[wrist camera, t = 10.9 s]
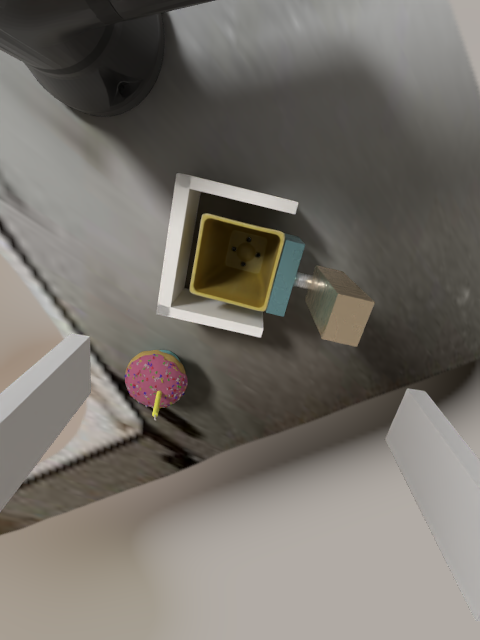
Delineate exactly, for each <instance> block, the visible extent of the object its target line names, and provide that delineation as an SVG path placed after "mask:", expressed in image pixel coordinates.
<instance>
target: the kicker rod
mask: <svg viewBox="0 0 480 640" xmlns="http://www.w3.org/2000/svg"><path fill="white" fill-rule="evenodd" d="M284 234H285V233H284ZM304 247H305V244H304V243H303V242H302V240H301V239H300V238H299V237H297V236H293V235H289V234H285V241H284V245H283V249H282V252H281V256H280V259H279V263H278V267H277V270H276V274H275V278H274V282H273V286H272V290H271V294H270V298H269V302H268V306H267V309H266V313H270V314H274V315H278V316H283V317H284V314H285V311H286V307H287V304H288V301H289V297H290V294H291V290H292V287H293V286H294V287H298V288H302V289H307V290H308V291H307V294H306V298H305V301H306V303H307V306H308V308H309V310H310V313H311V315H312V317H313V319H314V322H315V324H316V326H317V328H318V331H319V333H320V335H321V337H322V339H325V340H329V341H333V342H338V343H342V344H346V345H351V346H355V347H357V346H358V343H359V341H360V338H361V336H362V333H363V331H364V328H365V326H366V323H367V321H368V318H369V316H370V313H371V311H372V308H373V306H374V303H375V302H374V301H373V300H372V299H371V298H370V297H369V296H368V295H367V294H366V293H365V292H363V291H362V290H361V289H360V288H359V287H358V286H357V285H356V284H355V283H354V282H353V281H352V280H351V279H350V278H349V277H348V276H347V275H346V274H345V273H344V272H342V271H338V270H334V269H330V268H326V267H321V266H317V265H316V266H315V269H314V272H313V275H307V274H303V273H299V272H297V270H298V267H299V264H300V260H301V257H302V254H303V250H304Z"/></svg>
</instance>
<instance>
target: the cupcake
mask: <svg viewBox="0 0 480 640" xmlns="http://www.w3.org/2000/svg"><path fill="white" fill-rule="evenodd" d="M125 383H126V387H127V389H128V392H129V394H130V395H131V397H133V398H135V399H134V400H136V401H137V402H138V403H142V404H144V405H146V407H147V406H149V407H152V408H153V407H154V409H153V414H152V416H153V417H154V420H155V421H156V417H157V416H158V411H159V408H161V407H163V408H165V407H167V406H170V405H173V404H174V403H175V402H177V401H179V399H180V398H181V397H182V395H184V392H185V390H186V387H187V384H188V380H187V376H186V373H185V370H184V367H183V365H182V364H181V363H180V360H179V358H178V357H177V356H176V355H175V354H174V353H172V352H171V351H168V350H152V351H144V352H141V353H139V354H138V355H137V356H135V357H134V358H133V359H132V360H131V361H130V363H129V364H128V366H127V369H126V375H125Z"/></svg>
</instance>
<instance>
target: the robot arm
mask: <svg viewBox="0 0 480 640" xmlns="http://www.w3.org/2000/svg"><path fill="white" fill-rule="evenodd" d="M211 1H215V0H0V50H2V51H4V52H6V53H7V54H9V55H11V56H13V57H15V58H17V59H19V60H20V61H22V62H24V63H25V65H26V66H27V67H28V68H29V70H30V71H31V73H32V74H33V76H34V77H35V78H36V79H37V81H38V82H39V83H40V84H41V85H42V86H43V87H44V88H45V89H46V90H47V91H48V92H49V93H50V94H51V95H53V96H54V97H55V98H56V99H58V100H59V101H61V102H62V103H64V104H66V105H68V106H70V107H72V108H74V109H76V110H79V111H81V112H84V113H87V114H90V115H95V116H113V115H118V114H121V113H124V112H126V111H128V110H130V109H132V108H133V107H135V106H136V105H137V104H139V103H140V102H141V101H142V100H143V99H144V98H145V97H146V96H147V94H148V93H149V92H150V90H151V89H152V87H153V85H154V83H155V81H156V79H157V77H158V74H159V72H160V68H161V65H162V60H163V54H164V28H163V21H162V16H161V13H163V12H168V11H172V10H176V9H181V8H185V7H189V6H194V5H198V4H202V3H206V2H211ZM90 393H91V373H90V336H84V335H78V334H72V333H71V334H70V335H68V336H67V337H66V338H65V339H64V340H63V341H61V342H60V343H59V344H58V345H57V346H55V347H54V348H53V349H52V350H51V351H50V352H48V353H47V354H46V355H45V356H44V357H43V358H41V359H40V360H39V361H38V362H37V363H36V364H34V365H33V366H32V367H31V368H30V369H29V370H27V371H26V372H25V373H24V374H23V375H21V376H20V377H19V378H18V379H17V380H16V381H14V382H13V383H12V384H11V385H10V386H9V387H7V388H6V389H5V390H4V391H3V392H1V393H0V512H1V510H2V509H3V508H4V507H5V505H6V504H7V503H8V501H9V500H10V499H11V497H12V496H13V495H14V493H15V492H16V491H17V489H18V488H19V487H20V485H21V484H22V483H23V481H24V480H25V479H26V478H27V476H28V475H29V474H30V472H31V471H32V470H33V468H34V467H35V466H36V464H37V463H38V462H39V460H40V459H41V458H42V456H43V455H44V454H45V452H46V451H47V450H48V448H49V447H50V446H51V445H52V443H53V442H54V440H55V439H56V438H57V437H58V435H59V434H60V433H61V431H62V430H63V429H64V427H65V426H66V425H67V423H68V422H69V421H70V419H71V418H72V417H73V415H74V414H75V413H76V412H77V410H78V409H79V408H80V406H81V405H82V404H83V402H84V401H85V400H86V398H87V397H88V396H89V394H90ZM385 440H386V442H387V444H388V446H389V448H390V450H391V452H392V454H393V456H394V458H395V460H396V462H397V464H398V466H399V468H400V470H401V472H402V474H403V476H404V478H405V480H406V483H407V485H408V487H409V489H410V491H411V492H412V494H413V497H414V498H415V501H416V502H417V504H418V506H419V508H420V511H421V512H422V515H423V516H424V518H425V521H426V523H427V524H428V527H429V529H430V531H431V533H432V535H433V536H434V539H435V541H436V543H437V545H438V547H439V549H440V551H441V553H442V555H443V557H444V559H445V561H446V563H447V565H448V567H449V569H450V571H451V572H452V575H453V577H454V579H455V581H456V583H457V585H458V586H459V589H460V591H461V593H462V595H463V597H464V599H465V601H466V603H467V605H468V607H469V609H470V611H471V613H472V615H473V617H474V619H475V621H480V460H479V458H478V457H477V456H476V454H475V453H474V452H473V451H472V449H471V448H470V447H469V446H468V444H467V443H466V442H465V441H464V439H463V438H462V437H461V436H460V434H459V433H458V432H457V431H456V429H455V428H454V427H453V425H452V424H451V423H450V422H449V420H448V419H447V418H446V417H445V415H444V414H443V413H442V412H441V410H440V409H439V408H438V407H437V405H436V404H435V403H434V402H433V400H432V399H431V398H430V397H429V395H428V394H427V393H426V392H425V391H420V390H414V389H408V388H407V390H406V392H405V395H404V397H403V399H402V402H401V404H400V406H399V408H398V411H397V413H396V415H395V418H394V420H393V422H392V425H391V427H390V429H389V432H388V434H387V436H386V438H385Z"/></svg>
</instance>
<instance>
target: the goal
mask: <svg viewBox="0 0 480 640" xmlns="http://www.w3.org/2000/svg"><path fill="white" fill-rule="evenodd" d="M201 192H205V193H209V194H213V195H217V196H222V197H226V198H230V199H234V200H238V201H242V202H246V203H250V204H254V205H258V206H262V207H267V208H271V209H275V210H279V211H283V212H287V213H291V214H296V210H297V206H298V203H299V202H296V201H293V200H289V199H285V198H281V197H277V196H273V195H269V194H265V193H261V192H257V191H253V190H249V189H245V188H241V187H237V186H233V185H228V184H224V183H220V182H216V181H212V180H208V179H204V178H200V177H196V176H192V175H187V174H182V173H177V174H176V180H175V187H174V194H173V201H172V208H171V215H170V222H169V229H168V236H167V243H166V250H165V257H164V264H163V271H162V277H161V284H160V291H159V298H158V305H157V312H156V314H159V315H163V316H168V317H172V318H177V319H181V320H185V321H190V322H194V323H199V324H203V325H207V326H212V327H216V328H221V329H225V330H229V331H234V332H238V333H243V334H247V335H251V336H256V337H260V338H261V336H262V332H263V329H264V328H263V311H256V310H252V309H248V308H245V307H241V306H237V305H233V304H230V303H225V302H222V301H218V300H214V299H210V298H206V297H202V296H198V295H195V294H192V293H191V292H190V289H186V288H184V287H185V281H186V275H187V270H188V264H189V258H190V252H191V246H192V241H193V235H194V229H195V223H196V217H197V212H198V206H199V200H200V194H201Z"/></svg>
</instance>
